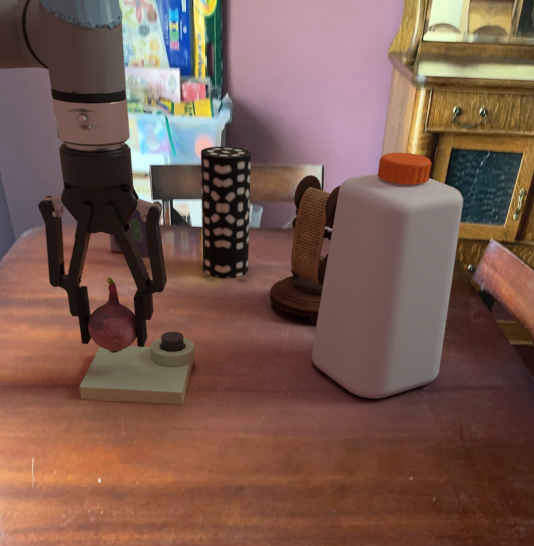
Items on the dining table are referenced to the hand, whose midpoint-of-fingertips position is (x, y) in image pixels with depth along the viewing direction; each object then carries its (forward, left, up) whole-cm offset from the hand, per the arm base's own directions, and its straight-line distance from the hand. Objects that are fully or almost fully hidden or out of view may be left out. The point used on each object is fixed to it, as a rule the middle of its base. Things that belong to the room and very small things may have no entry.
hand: (115, 340), depth 86 cm
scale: (+2, +2, -6) cm, 7 cm away
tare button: (+6, +5, -3) cm, 9 cm away
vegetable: (0, 0, -2) cm, 2 cm away
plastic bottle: (+34, +8, -7) cm, 36 cm away
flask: (-8, +50, -7) cm, 50 cm away
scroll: (+26, +29, -7) cm, 39 cm away
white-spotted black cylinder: (+10, +44, -7) cm, 45 cm away
